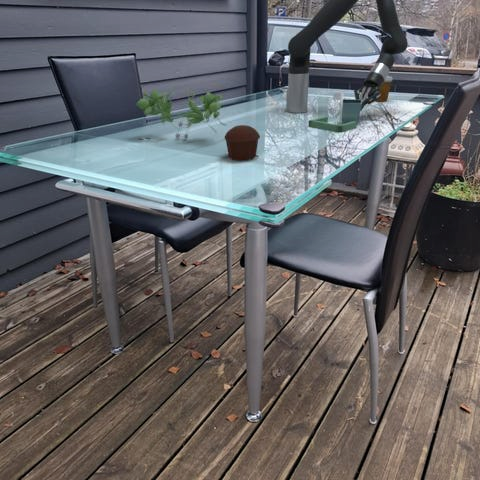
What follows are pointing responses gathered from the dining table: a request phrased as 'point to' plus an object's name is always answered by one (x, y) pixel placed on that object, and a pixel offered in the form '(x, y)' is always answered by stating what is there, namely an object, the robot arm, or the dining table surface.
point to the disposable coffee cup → (385, 89)
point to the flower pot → (351, 110)
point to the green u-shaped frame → (323, 123)
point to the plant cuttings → (197, 115)
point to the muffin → (242, 142)
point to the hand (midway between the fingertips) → (357, 110)
